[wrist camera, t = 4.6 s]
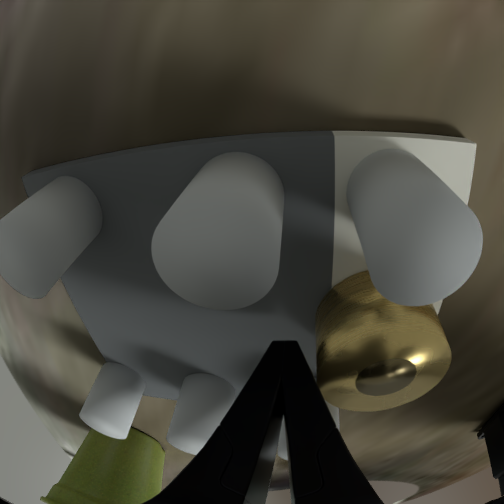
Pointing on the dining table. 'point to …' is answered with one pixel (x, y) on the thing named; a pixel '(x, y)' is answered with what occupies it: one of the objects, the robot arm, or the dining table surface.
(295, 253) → the board
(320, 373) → the brass knob
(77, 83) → the dining table surface
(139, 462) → the plant pot
